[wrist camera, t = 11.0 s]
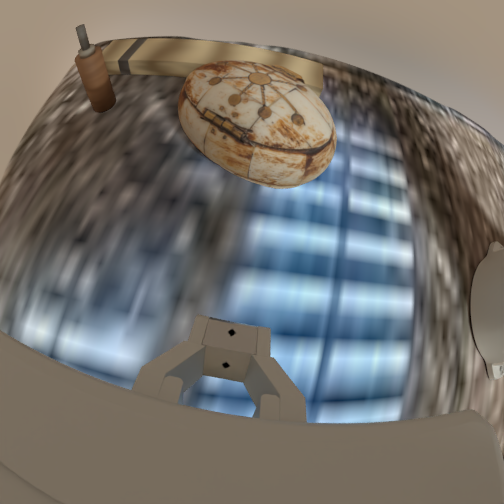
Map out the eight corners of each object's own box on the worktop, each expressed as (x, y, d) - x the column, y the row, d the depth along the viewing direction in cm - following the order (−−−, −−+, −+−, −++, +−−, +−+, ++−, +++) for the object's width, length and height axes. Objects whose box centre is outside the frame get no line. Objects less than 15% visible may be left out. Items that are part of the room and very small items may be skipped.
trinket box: (323, 206, 26) (360, 159, 18) (163, 186, 24) (147, 130, 17) (317, 109, 30) (338, 60, 22) (191, 91, 28) (190, 38, 21)
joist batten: (317, 77, 32) (323, 64, 29) (316, 102, 30) (322, 88, 28) (116, 52, 30) (113, 40, 27) (96, 75, 28) (92, 62, 26)
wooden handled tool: (119, 96, 27) (100, 17, 16) (108, 112, 26) (82, 32, 15) (100, 95, 27) (77, 21, 16) (89, 112, 26) (60, 36, 15)
